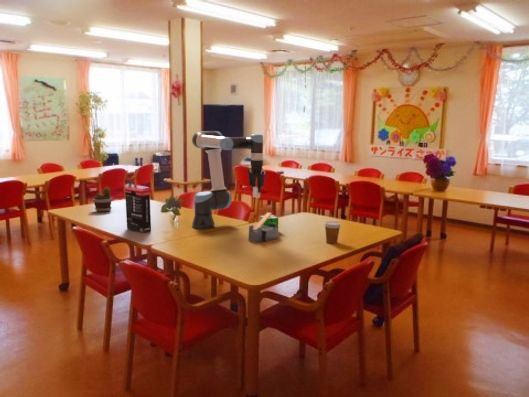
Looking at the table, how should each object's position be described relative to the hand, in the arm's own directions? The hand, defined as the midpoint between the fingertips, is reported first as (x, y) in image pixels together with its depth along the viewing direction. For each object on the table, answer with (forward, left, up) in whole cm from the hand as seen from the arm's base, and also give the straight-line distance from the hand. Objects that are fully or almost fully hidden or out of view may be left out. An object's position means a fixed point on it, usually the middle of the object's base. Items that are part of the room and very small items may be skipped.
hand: (256, 197), depth 282 cm
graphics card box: (-66, -40, -25) cm, 81 cm away
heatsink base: (+8, -2, -24) cm, 26 cm away
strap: (+8, -4, -14) cm, 17 cm away
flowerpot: (-136, -21, -25) cm, 140 cm away
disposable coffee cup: (+45, +17, -25) cm, 54 cm away
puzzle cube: (0, +13, -25) cm, 28 cm away
